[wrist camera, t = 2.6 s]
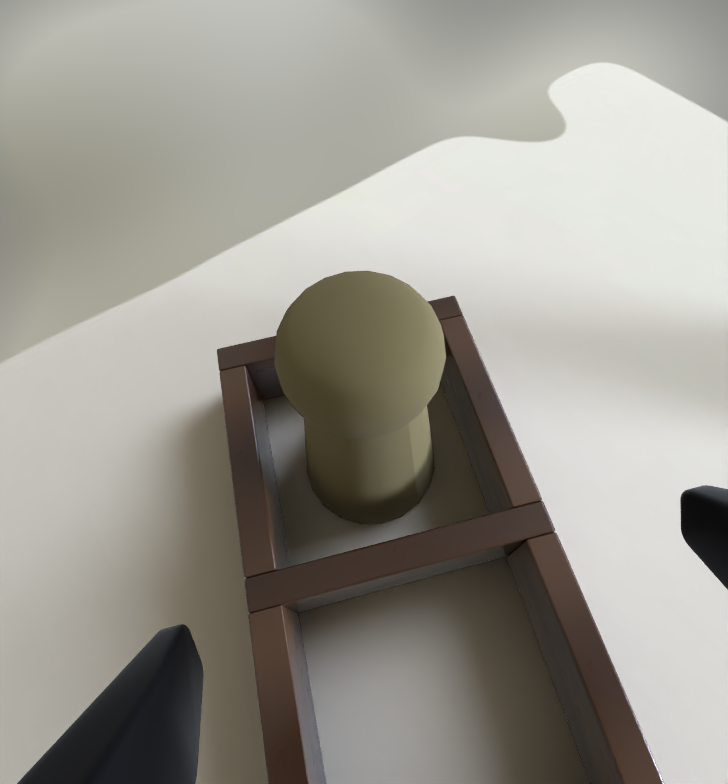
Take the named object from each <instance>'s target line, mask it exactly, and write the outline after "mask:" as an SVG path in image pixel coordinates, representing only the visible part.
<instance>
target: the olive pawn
mask: <svg viewBox="0 0 728 784" xmlns="http://www.w3.org/2000/svg"><path fill="white" fill-rule="evenodd" d="M445 360H446V352H445V343H444V334H443V330H442V327H441V324H440V322H439V320H438V318H437V316H436V314H435V312H434V310H433V308H432V306H431V305H430V304H429V303H428V302H427V301H426V300H425V299H424V298H423V297H422V296H421V295H420V294H418V293H417V292H416V291H415V290H414V289H413V288H412V287H411V286H410V285H408V284H406V283H404V282H402V281H400V280H398V279H396V278H394V277H392V276H390V275H386V274H381V273H376V272H371V271H354V272H344V273H340V274H337V275H333V276H330V277H326V278H324V279H322V280H320V281H319V282H317V283H315V284H314V285H312V286H310V287H309V288H307V289H305V291H304V292H303V293H302V294H301V295H300V296H299V297H298V298H297V299H296V300H295V301H294V302H293V303H292V304H291V306H290V307H289V308H288V310H287V311H286V313H285V315H284V317H283V319H282V321H281V323H280V325H279V328H278V330H277V335H276V346H275V360H274V364H275V368H276V371H277V374H278V378H279V381H280V385H281V387H282V390H283V392H284V394H285V396H286V397H287V398H288V400H289V401H290V402H291V404H292V405H293V406H294V408H295V409H296V410H297V411H298V413H299V414H300V415H301V416H303V417H304V424H305V442H306V459H307V472H308V476H309V479H310V482H311V486H312V489H313V491H314V492H315V494H316V495H317V496H318V498H319V499H320V501H321V502H322V503H323V505H324V506H325V507H327V508H328V509H329V510H331V511H332V512H334V513H335V514H337V515H338V516H339V517H341V518H344V519H347V520H350V521H354V522H357V523H360V524H369V523H384V522H387V521H390V520H393V519H396V518H398V517H401V516H403V515H404V514H406V513H407V512H408V511H409V510H411V509H412V508H413V507H415V506H416V505H417V504H418V503H419V502H420V501H421V499H422V497H423V496H424V494H425V493H426V491H427V490H428V488H429V487H430V483H431V479H432V476H433V472H434V456H433V446H432V439H431V431H430V424H429V417H428V410H427V404H428V403H429V402H430V400H431V399H432V397H433V396H434V395H435V393H436V392H437V390H438V387H439V384H440V380H441V376H442V373H443V369H444V365H445Z"/></svg>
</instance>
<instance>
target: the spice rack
mask: <svg viewBox="0 0 728 784" xmlns="http://www.w3.org/2000/svg"><path fill="white" fill-rule="evenodd" d="M428 303H429V304H430V305H431V306H432V308H433V310H434V312H435V314H436V316H437V318H438V320H439V322H440V324H441V327H442V330H443V334H444V343H445V352H446V360H445V365H444V369H443V373H442V376H441V383H442V386H443V389H444V391H445V394H446V397H447V399H448V402H449V405H450V407H451V410H452V413H453V415H454V418H455V421H456V423H457V426H458V429H459V432H460V434H461V437H462V440H463V442H464V445H465V448H466V450H467V453H468V456H469V458H470V461H471V464H472V466H473V469H474V472H475V475H476V477H477V480H478V483H479V485H480V488H481V491H482V493H483V496H484V499H485V501H486V504H487V507H488V509H489V512H490V514H489V515H485V516H481V517H477V518H474V519H470V520H466V521H462V522H458V523H454V524H451V525H447V526H443V527H439V528H435V529H432V530H428V531H424V532H420V533H416V534H413V535H409V536H405V537H401V538H397V539H394V540H390V541H386V542H382V543H378V544H374V545H371V546H367V547H363V548H359V549H355V550H352V551H348V552H344V553H340V554H336V555H333V556H329V557H325V558H321V559H317V560H313V561H310V562H306V563H302V564H298V565H294V566H291V567H290V562H289V556H288V550H287V544H286V538H285V531H284V525H283V519H282V513H281V507H280V501H279V495H278V489H277V483H276V477H275V471H274V465H273V459H272V453H271V447H270V440H269V434H268V428H267V422H266V416H265V410H264V404H263V400H264V399H269V398H273V397H277V396H281V395H285V394H284V392H283V390H282V387H281V385H280V381H279V378H278V374H277V371H276V368H275V364H274V360H275V346H276V336H274V337H269V338H265V339H260V340H256V341H251V342H247V343H243V344H238V345H234V346H229V347H225V348H220V349H217V356H218V364H219V370H220V380H221V388H222V396H223V405H224V413H225V421H226V430H227V438H228V446H229V455H230V463H231V471H232V480H233V488H234V496H235V505H236V513H237V521H238V530H239V538H240V546H241V555H242V563H243V571H244V577H245V578H246V579H245V588H246V596H247V604H248V611H249V613H250V614H249V615H248V616H249V624H250V632H251V641H252V649H253V657H254V666H255V674H256V682H257V691H258V699H259V707H260V716H261V724H262V732H263V741H264V749H265V757H266V766H267V774H268V782H269V784H326V779H325V773H324V767H323V761H322V755H321V749H320V743H319V737H318V731H317V724H316V718H315V712H314V706H313V700H312V694H311V688H310V682H309V676H308V670H307V664H306V658H305V652H304V646H303V640H302V634H301V627H300V621H299V615H298V612H302V611H305V610H309V609H313V608H316V607H320V606H324V605H328V604H331V603H335V602H339V601H342V600H346V599H350V598H354V597H357V596H361V595H365V594H368V593H372V592H376V591H379V590H383V589H387V588H391V587H394V586H398V585H402V584H405V583H409V582H413V581H417V580H420V579H424V578H428V577H431V576H435V575H439V574H442V573H446V572H450V571H454V570H457V569H461V568H465V567H468V566H472V565H476V564H480V563H483V562H487V561H491V560H494V559H498V558H502V557H505V556H507V560H508V563H509V566H510V568H511V571H512V574H513V576H514V579H515V582H516V584H517V587H518V590H519V592H520V595H521V598H522V600H523V603H524V606H525V609H526V611H527V614H528V617H529V619H530V622H531V625H532V627H533V630H534V633H535V635H536V638H537V641H538V643H539V646H540V649H541V652H542V654H543V657H544V660H545V662H546V665H547V668H548V670H549V673H550V676H551V678H552V681H553V684H554V686H555V689H556V692H557V694H558V697H559V700H560V703H561V705H562V708H563V711H564V713H565V716H566V719H567V721H568V724H569V727H570V729H571V732H572V735H573V737H574V740H575V743H576V746H577V748H578V751H579V754H580V756H581V759H582V762H583V764H584V767H585V770H586V772H587V775H588V778H589V780H590V783H591V784H664V782H663V779H662V777H661V775H660V772H659V770H658V768H657V765H656V763H655V761H654V759H653V756H652V754H651V752H650V749H649V747H648V745H647V742H646V740H645V738H644V735H643V733H642V731H641V728H640V726H639V724H638V721H637V719H636V717H635V714H634V712H633V710H632V707H631V705H630V703H629V700H628V698H627V696H626V693H625V691H624V689H623V686H622V684H621V682H620V679H619V677H618V675H617V672H616V670H615V668H614V665H613V663H612V661H611V659H610V656H609V654H608V652H607V649H606V647H605V645H604V642H603V640H602V638H601V635H600V633H599V631H598V628H597V626H596V624H595V621H594V619H593V617H592V614H591V612H590V610H589V607H588V605H587V603H586V600H585V598H584V596H583V593H582V591H581V589H580V586H579V584H578V582H577V579H576V577H575V575H574V572H573V570H572V568H571V566H570V563H569V561H568V559H567V556H566V554H565V552H564V549H563V547H562V545H561V542H560V540H559V538H558V535H557V534H556V533H555V532H554V531H555V528H554V526H553V524H552V521H551V519H550V517H549V514H548V512H547V510H546V507H545V505H544V503H543V501H541V500H542V498H541V495H540V493H539V491H538V488H537V486H536V484H535V481H534V479H533V477H532V474H531V472H530V470H529V467H528V465H527V463H526V460H525V458H524V456H523V453H522V451H521V449H520V447H519V444H518V442H517V440H516V437H515V435H514V433H513V430H512V428H511V426H510V423H509V421H508V419H507V416H506V414H505V412H504V409H503V407H502V405H501V402H500V400H499V398H498V395H497V393H496V391H495V388H494V386H493V384H492V381H491V379H490V377H489V374H488V372H487V370H486V367H485V365H484V363H483V361H482V358H481V356H480V354H479V351H478V349H477V347H476V344H475V342H474V340H473V337H472V335H471V333H470V330H469V328H468V326H467V323H466V321H465V319H464V316H462V315H463V314H462V312H461V309H460V307H459V305H458V302H457V300H456V298H455V296H450V297H446V298H442V299H437V300H433V301H428Z"/></svg>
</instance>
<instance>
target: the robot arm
mask: <svg viewBox="0 0 728 784" xmlns="http://www.w3.org/2000/svg"><path fill="white" fill-rule="evenodd" d="M681 531H682V535H683V537H684V539H685V541H686V543H687V544H688V545H689V546H690V548H691V549H692V550H693V551H694V552H695V553H696V554H697V555H698V557H699V558H700V559H701V560H702V561H703V562H704V563H705V565H706V566H707V567H708V568H709V569H710V570H711V571H712V572H713V574H714V575H715V576H716V577H717V578H718V579H719V580H720V581H721V583H722V584H723V585H724V586H725V587H726V588H727V589H728V489H723V488H718V487H713V486H707V485H706V486H700V487H696V488H692V489H688V490H686V491H684V492H683V493H682V495H681ZM202 689H203V666H202V662H201V659H200V656H199V654H198V651H197V648H196V646H195V643H194V640H193V638H192V635H191V633H190V630H189V629H188V627H187V626H186V625H183V624H181V625H177V626H173V627H170V628H166V629H163V630H161V631H159V632H158V633H157V634H156V635H155V636H154V637H153V638H152V639H151V641H150V642H149V643H148V644H147V645H146V646H145V647H144V648H143V649H142V650H141V651H140V652H139V653H138V654H137V656H136V657H135V658H134V659H133V660H132V661H131V662H130V663H129V664H128V665H127V666H126V667H125V668H124V669H123V671H122V672H121V673H120V674H119V675H118V676H117V677H116V678H115V679H114V680H113V681H112V682H111V683H110V684H109V686H108V687H107V688H106V689H105V690H104V691H103V692H102V693H101V694H100V695H99V696H98V697H97V698H96V699H95V701H94V702H93V703H92V704H91V705H90V706H89V707H88V708H87V709H86V710H85V711H84V712H83V713H82V714H81V716H80V717H79V718H78V719H77V720H76V721H75V722H74V723H73V724H72V725H71V726H70V727H69V728H68V730H67V731H66V732H65V733H64V734H63V735H62V736H61V737H60V738H59V739H58V740H57V741H56V742H55V743H54V745H53V746H52V747H51V748H50V749H49V750H48V751H47V752H46V753H45V754H44V755H43V756H42V757H41V758H40V760H39V761H38V762H37V763H36V764H35V765H34V766H33V767H32V768H31V769H30V770H29V771H28V772H27V773H26V775H25V776H24V777H23V778H22V779H21V780H20V781H19V782H18V783H17V784H195V783H196V776H197V765H198V752H199V736H200V720H201V705H202Z"/></svg>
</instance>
